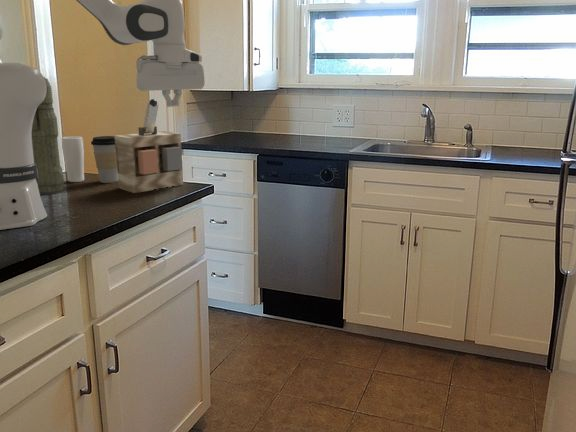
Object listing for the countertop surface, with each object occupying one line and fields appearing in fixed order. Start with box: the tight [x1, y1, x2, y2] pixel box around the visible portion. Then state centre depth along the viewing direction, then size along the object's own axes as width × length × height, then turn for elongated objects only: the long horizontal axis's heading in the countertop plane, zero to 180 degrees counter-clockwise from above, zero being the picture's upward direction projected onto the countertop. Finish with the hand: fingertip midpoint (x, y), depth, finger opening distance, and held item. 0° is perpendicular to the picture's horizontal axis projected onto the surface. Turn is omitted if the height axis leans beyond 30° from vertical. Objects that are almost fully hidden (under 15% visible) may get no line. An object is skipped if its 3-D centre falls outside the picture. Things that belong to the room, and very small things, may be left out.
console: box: [114, 125, 184, 194], centre depth 182 cm, size 18×10×19 cm, turn 133°
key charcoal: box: [160, 146, 183, 171], centre depth 182 cm, size 5×7×7 cm
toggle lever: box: [142, 98, 159, 134], centre depth 177 cm, size 3×2×12 cm
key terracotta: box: [136, 149, 158, 174], centre depth 176 cm, size 5×7×7 cm
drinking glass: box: [61, 135, 85, 183], centre depth 192 cm, size 7×7×15 cm
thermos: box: [32, 76, 65, 195], centre depth 174 cm, size 9×12×35 cm
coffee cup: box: [90, 135, 118, 184], centre depth 192 cm, size 9×9×15 cm
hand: (172, 106), depth 160 cm, fingers closed
